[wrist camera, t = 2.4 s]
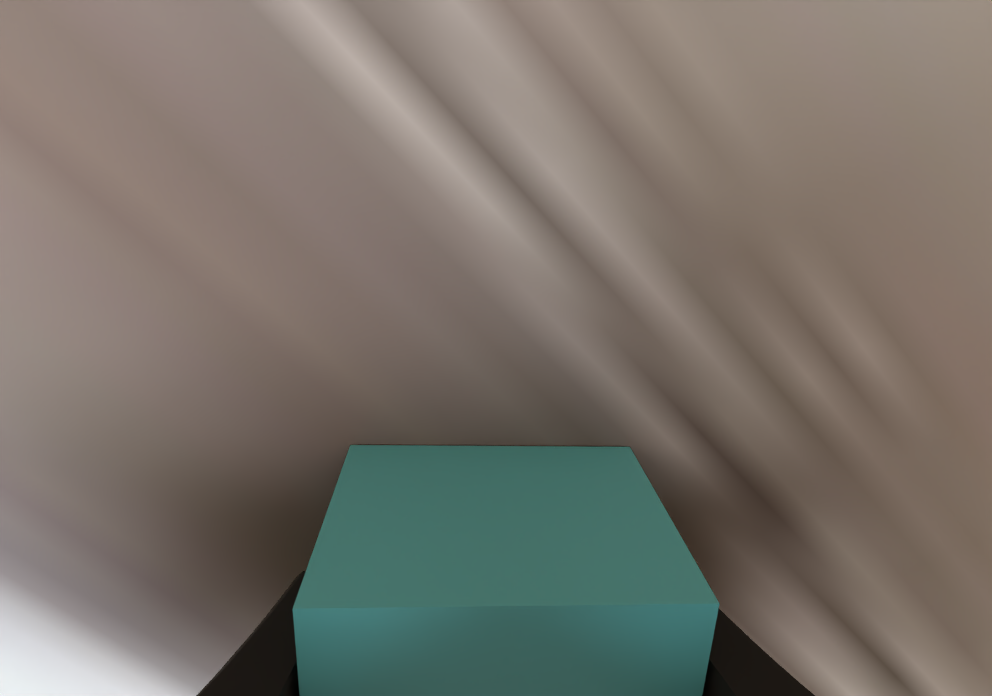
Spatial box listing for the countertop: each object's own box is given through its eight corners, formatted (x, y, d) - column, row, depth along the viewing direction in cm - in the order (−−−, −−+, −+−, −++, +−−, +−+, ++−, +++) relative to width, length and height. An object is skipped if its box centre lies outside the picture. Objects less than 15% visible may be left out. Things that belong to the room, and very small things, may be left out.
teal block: (629, 446, 11) (719, 604, 7) (603, 663, 13) (666, 884, 9) (350, 445, 11) (293, 608, 7) (358, 668, 12) (316, 900, 9)
